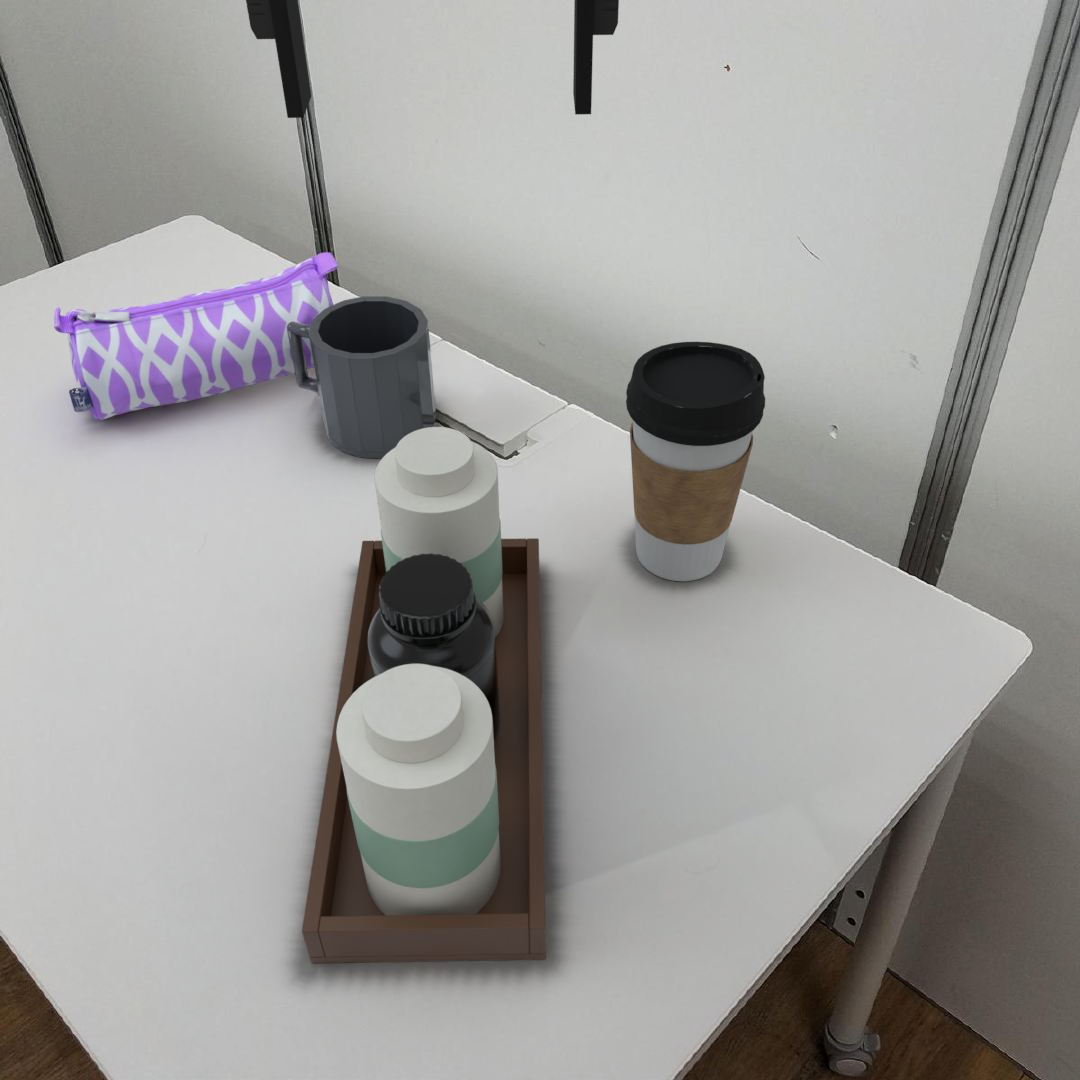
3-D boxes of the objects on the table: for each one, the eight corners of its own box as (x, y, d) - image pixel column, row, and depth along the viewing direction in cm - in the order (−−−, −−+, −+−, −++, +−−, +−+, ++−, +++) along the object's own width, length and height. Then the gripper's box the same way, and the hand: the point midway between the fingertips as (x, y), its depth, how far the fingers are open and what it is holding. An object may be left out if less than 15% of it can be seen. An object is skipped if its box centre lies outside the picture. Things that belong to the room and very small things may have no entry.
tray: (539, 571, 75) (538, 537, 73) (545, 959, 55) (545, 927, 53) (367, 574, 75) (362, 540, 73) (310, 963, 55) (301, 931, 53)
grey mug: (454, 407, 90) (447, 309, 84) (403, 469, 84) (391, 368, 78) (329, 376, 93) (314, 279, 87) (272, 433, 87) (251, 334, 81)
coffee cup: (730, 606, 73) (759, 419, 63) (604, 581, 75) (613, 396, 65) (748, 524, 79) (778, 342, 69) (632, 502, 81) (644, 322, 71)
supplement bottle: (372, 699, 67) (348, 552, 58) (483, 673, 68) (474, 526, 60) (396, 791, 62) (373, 645, 54) (514, 761, 63) (509, 614, 55)
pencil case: (87, 447, 86) (49, 342, 80) (71, 385, 92) (35, 283, 86) (361, 378, 93) (347, 276, 86) (329, 325, 99) (314, 226, 93)
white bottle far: (520, 641, 70) (515, 471, 61) (412, 673, 68) (390, 503, 59) (482, 568, 75) (473, 401, 66) (380, 596, 73) (356, 429, 64)
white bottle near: (521, 902, 57) (515, 736, 48) (386, 951, 55) (353, 788, 46) (475, 793, 62) (462, 623, 52) (350, 835, 60) (313, 666, 51)
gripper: (737, -498, 42) (690, 73, 57) (78, -492, 42) (198, 79, 56) (770, -501, 37) (709, 133, 51) (12, -494, 37) (163, 140, 51)
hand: (441, 106), depth 54 cm, fingers open, 13 cm apart
